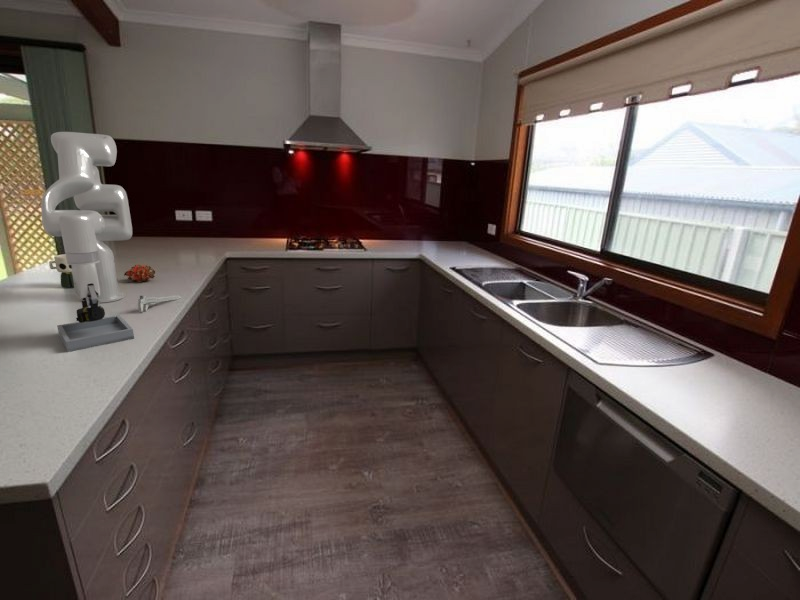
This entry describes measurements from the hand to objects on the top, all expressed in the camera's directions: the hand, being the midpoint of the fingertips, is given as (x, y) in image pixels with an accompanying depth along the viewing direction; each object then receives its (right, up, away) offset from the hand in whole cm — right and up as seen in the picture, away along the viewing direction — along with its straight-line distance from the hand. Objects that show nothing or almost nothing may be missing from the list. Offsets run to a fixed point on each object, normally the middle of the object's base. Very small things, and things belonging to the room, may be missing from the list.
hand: (93, 315), depth 124 cm
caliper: (+2, +3, +33) cm, 33 cm away
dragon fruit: (-23, +13, +61) cm, 66 cm away
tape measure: (-1, -2, -1) cm, 2 cm away
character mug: (-45, +10, +48) cm, 66 cm away
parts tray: (0, -6, +2) cm, 7 cm away
